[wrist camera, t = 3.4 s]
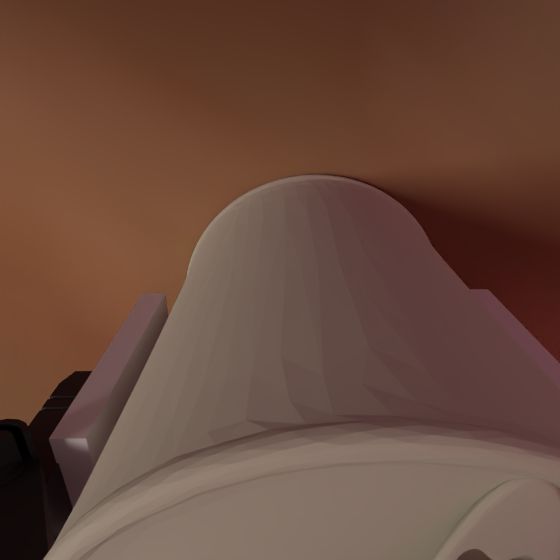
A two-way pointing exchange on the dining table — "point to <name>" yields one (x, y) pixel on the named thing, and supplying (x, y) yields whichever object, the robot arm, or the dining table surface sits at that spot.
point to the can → (326, 403)
